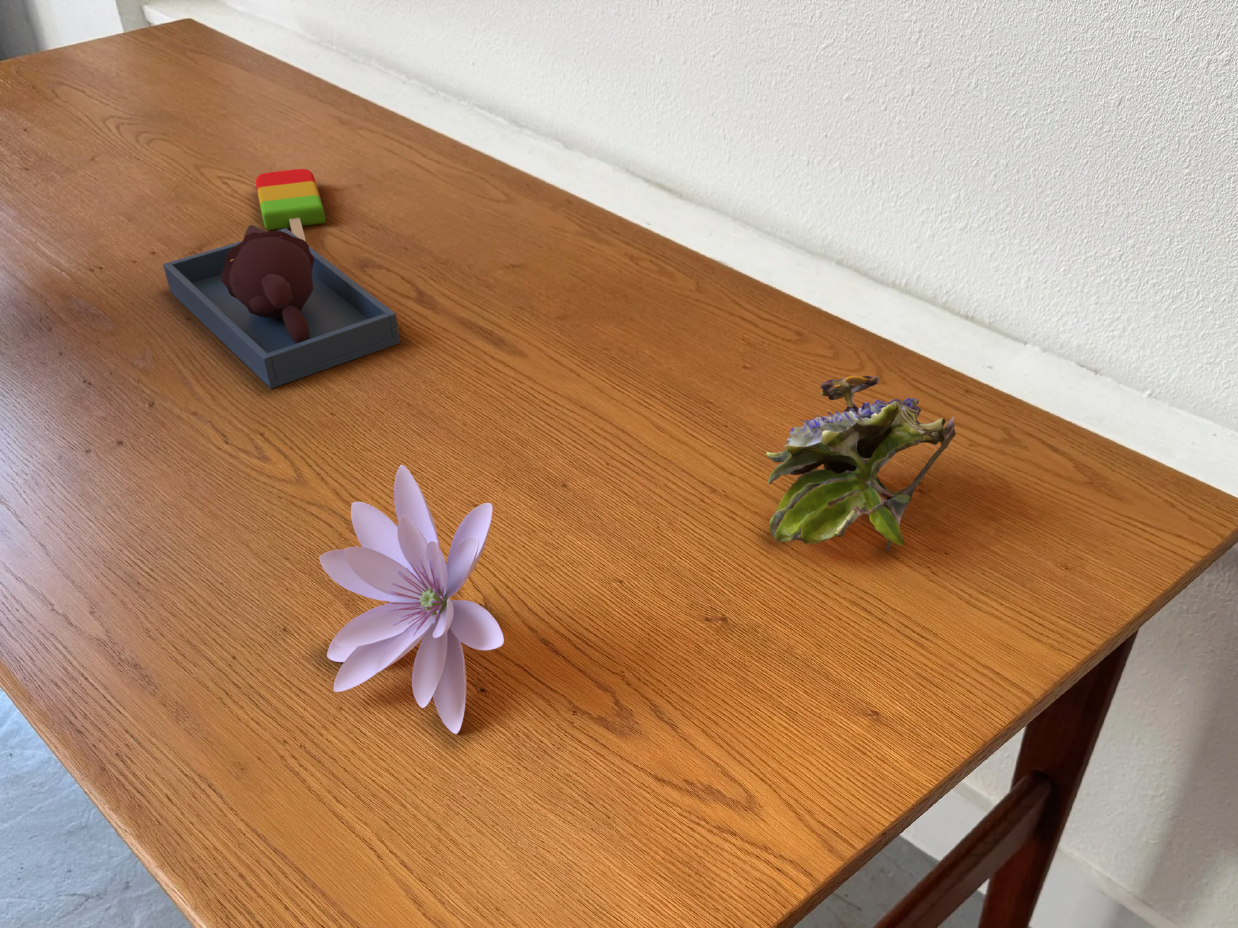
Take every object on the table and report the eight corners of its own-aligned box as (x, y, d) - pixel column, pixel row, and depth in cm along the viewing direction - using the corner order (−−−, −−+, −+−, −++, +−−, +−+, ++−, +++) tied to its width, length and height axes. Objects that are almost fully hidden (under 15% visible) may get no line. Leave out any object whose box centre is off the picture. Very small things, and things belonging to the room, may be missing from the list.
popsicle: (315, 184, 120) (311, 165, 119) (334, 252, 110) (330, 232, 108) (257, 191, 119) (253, 172, 117) (271, 261, 108) (266, 240, 107)
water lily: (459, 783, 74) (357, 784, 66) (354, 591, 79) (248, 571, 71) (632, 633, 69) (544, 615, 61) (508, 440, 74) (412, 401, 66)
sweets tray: (270, 389, 93) (263, 358, 91) (170, 292, 104) (162, 263, 102) (400, 343, 98) (396, 313, 96) (291, 255, 109) (286, 227, 107)
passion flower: (825, 546, 88) (906, 392, 85) (923, 612, 80) (1017, 445, 77) (710, 503, 81) (794, 334, 78) (804, 571, 73) (902, 385, 70)
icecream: (189, 208, 100) (224, 306, 91) (273, 172, 100) (317, 266, 91) (228, 278, 105) (266, 376, 96) (308, 243, 106) (352, 338, 97)
